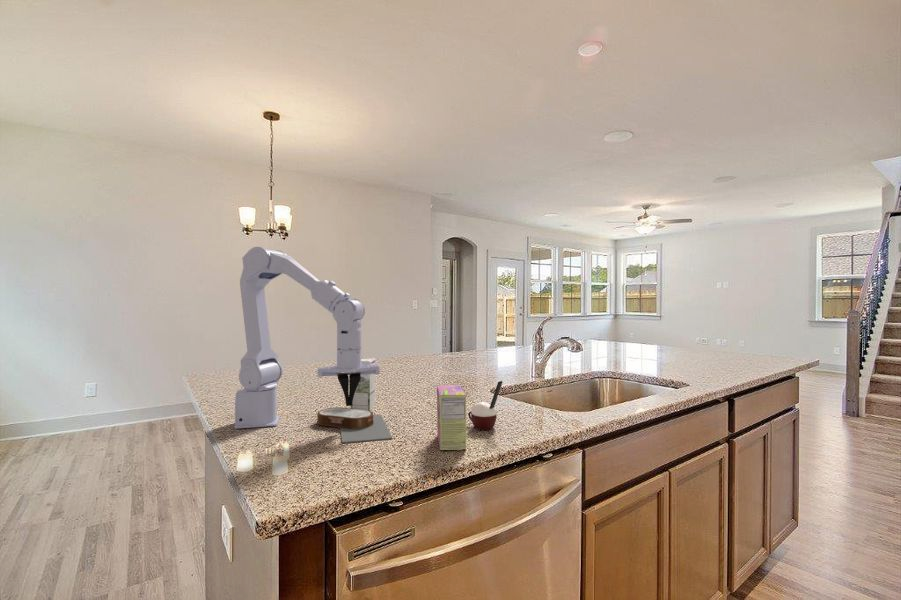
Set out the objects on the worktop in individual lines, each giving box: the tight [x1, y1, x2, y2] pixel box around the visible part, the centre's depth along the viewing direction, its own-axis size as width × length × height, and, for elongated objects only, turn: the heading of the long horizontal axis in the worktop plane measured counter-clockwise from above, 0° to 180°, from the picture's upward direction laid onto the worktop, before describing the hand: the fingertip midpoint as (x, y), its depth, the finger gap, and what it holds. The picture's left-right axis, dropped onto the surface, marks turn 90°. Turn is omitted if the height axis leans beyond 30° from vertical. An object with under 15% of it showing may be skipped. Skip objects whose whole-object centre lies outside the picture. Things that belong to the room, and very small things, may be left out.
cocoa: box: [467, 380, 503, 431], centre depth 106 cm, size 10×6×12 cm, turn 29°
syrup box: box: [350, 357, 376, 412], centre depth 123 cm, size 6×6×14 cm
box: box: [436, 384, 467, 451], centre depth 95 cm, size 10×6×12 cm, turn 5°
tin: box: [316, 407, 374, 429], centre depth 109 cm, size 15×3×8 cm
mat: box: [339, 414, 393, 444], centre depth 106 cm, size 11×20×1 cm, turn 17°
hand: (348, 404), depth 105 cm, fingers closed
